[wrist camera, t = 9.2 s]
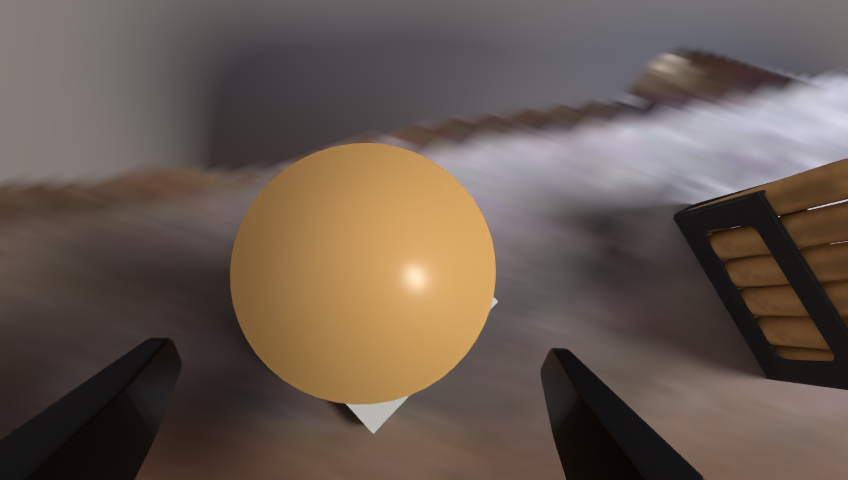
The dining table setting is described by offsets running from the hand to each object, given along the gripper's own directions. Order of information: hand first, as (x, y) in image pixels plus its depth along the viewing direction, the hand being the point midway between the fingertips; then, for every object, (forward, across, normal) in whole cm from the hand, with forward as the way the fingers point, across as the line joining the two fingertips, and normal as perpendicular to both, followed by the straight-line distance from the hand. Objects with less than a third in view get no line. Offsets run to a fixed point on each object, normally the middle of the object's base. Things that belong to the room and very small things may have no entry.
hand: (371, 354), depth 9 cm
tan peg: (+7, 0, +5) cm, 9 cm away
